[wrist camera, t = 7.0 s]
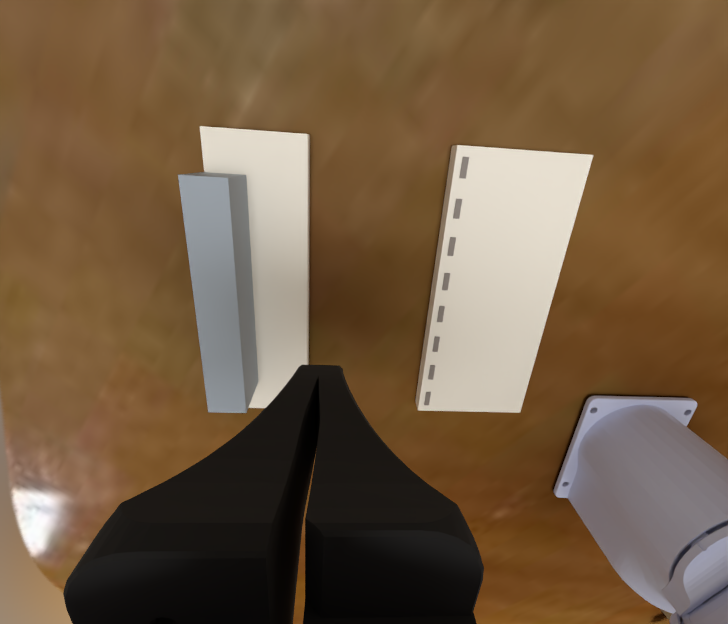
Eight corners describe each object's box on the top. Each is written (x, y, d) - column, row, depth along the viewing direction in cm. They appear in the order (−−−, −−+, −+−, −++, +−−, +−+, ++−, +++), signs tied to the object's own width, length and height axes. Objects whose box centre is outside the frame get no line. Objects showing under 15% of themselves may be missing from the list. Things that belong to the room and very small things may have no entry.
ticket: (513, 403, 25) (520, 413, 24) (415, 401, 25) (418, 411, 24) (581, 155, 19) (594, 155, 18) (451, 145, 19) (457, 144, 18)
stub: (308, 399, 24) (302, 442, 21) (232, 397, 24) (211, 441, 20) (309, 135, 18) (300, 129, 14) (207, 127, 18) (171, 119, 14)
